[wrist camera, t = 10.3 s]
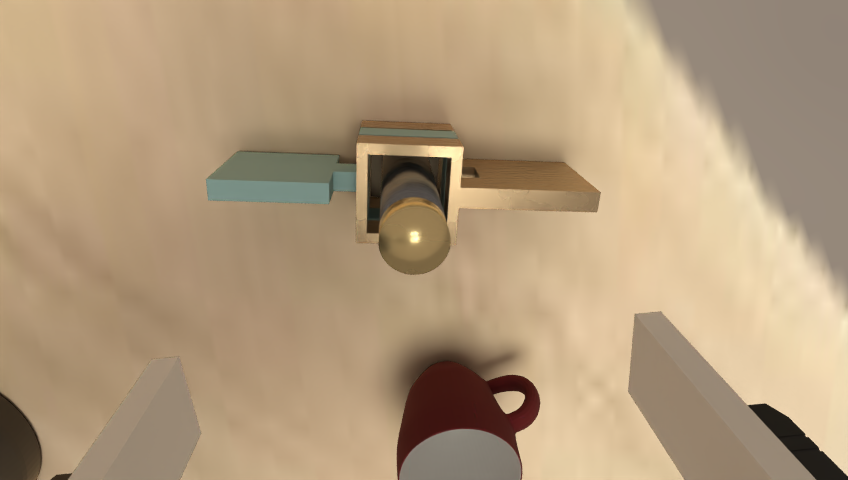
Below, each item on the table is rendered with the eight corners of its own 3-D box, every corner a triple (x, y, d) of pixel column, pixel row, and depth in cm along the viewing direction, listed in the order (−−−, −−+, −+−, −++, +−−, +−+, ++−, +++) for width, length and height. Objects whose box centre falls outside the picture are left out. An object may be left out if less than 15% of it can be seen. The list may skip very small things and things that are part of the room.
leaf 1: (450, 124, 36) (463, 147, 30) (444, 208, 38) (455, 245, 32) (234, 115, 35) (201, 137, 29) (241, 202, 37) (212, 239, 31)
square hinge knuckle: (361, 204, 38) (355, 242, 32) (362, 120, 36) (356, 143, 29) (557, 210, 39) (590, 248, 33) (569, 129, 37) (607, 152, 30)
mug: (493, 306, 42) (523, 388, 32) (539, 379, 45) (578, 474, 35) (376, 368, 43) (372, 464, 34) (427, 436, 46) (437, 541, 37)
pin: (381, 186, 38) (377, 273, 25) (382, 140, 36) (379, 206, 23) (427, 188, 38) (448, 275, 25) (430, 142, 37) (453, 208, 24)
